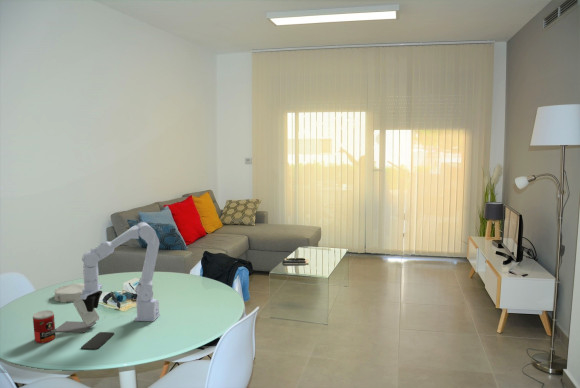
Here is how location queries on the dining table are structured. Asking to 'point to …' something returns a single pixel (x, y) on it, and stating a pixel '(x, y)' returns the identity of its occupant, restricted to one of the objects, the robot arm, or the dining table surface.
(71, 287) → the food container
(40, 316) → the canned food
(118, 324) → the dining table surface
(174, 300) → the dining table surface
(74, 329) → the mat
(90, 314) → the skincare box
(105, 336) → the phone
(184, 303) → the dining table surface
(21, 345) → the dining table surface
